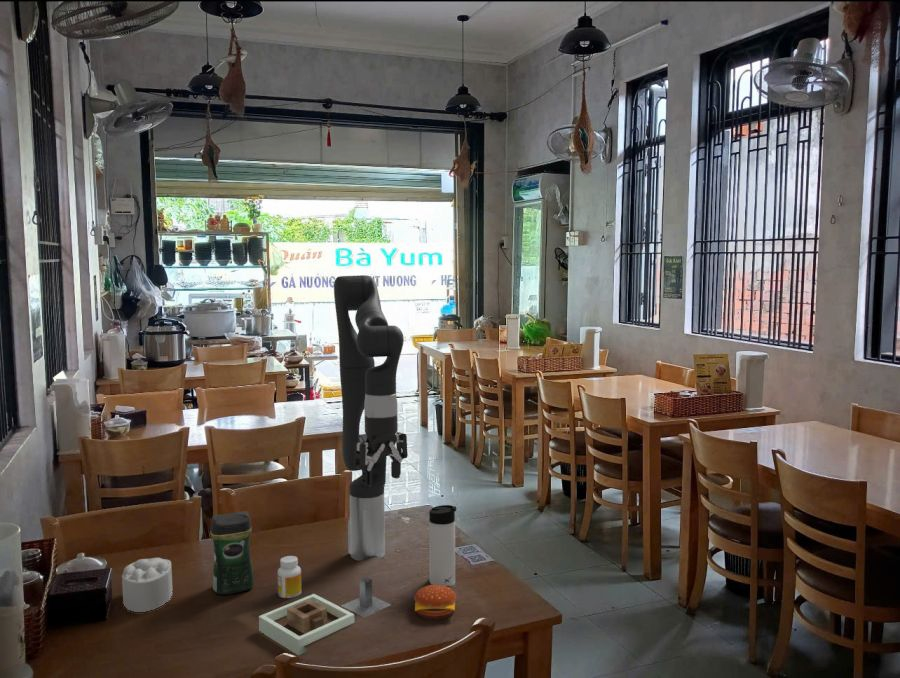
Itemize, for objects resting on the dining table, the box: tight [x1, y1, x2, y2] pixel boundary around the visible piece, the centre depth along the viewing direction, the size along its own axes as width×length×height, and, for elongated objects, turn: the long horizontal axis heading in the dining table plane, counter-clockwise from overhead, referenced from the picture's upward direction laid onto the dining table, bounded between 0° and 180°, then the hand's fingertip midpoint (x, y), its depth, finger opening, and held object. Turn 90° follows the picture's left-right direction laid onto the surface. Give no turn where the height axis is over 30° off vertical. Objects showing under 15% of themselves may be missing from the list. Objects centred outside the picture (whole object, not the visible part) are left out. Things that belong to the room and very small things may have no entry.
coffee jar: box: [209, 510, 255, 595], centre depth 174 cm, size 10×8×19 cm
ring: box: [286, 600, 328, 635], centre depth 153 cm, size 7×6×4 cm
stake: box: [340, 576, 392, 618], centre depth 162 cm, size 8×8×8 cm
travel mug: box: [428, 504, 457, 588], centre depth 174 cm, size 6×7×20 cm
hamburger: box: [413, 584, 457, 621], centre depth 160 cm, size 9×10×7 cm
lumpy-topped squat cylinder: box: [121, 557, 173, 612], centre depth 168 cm, size 10×13×9 cm
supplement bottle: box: [277, 555, 302, 599], centre depth 168 cm, size 5×5×10 cm
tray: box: [258, 593, 356, 656], centre depth 154 cm, size 14×14×3 cm
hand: (381, 481), depth 166 cm, fingers open, 8 cm apart
